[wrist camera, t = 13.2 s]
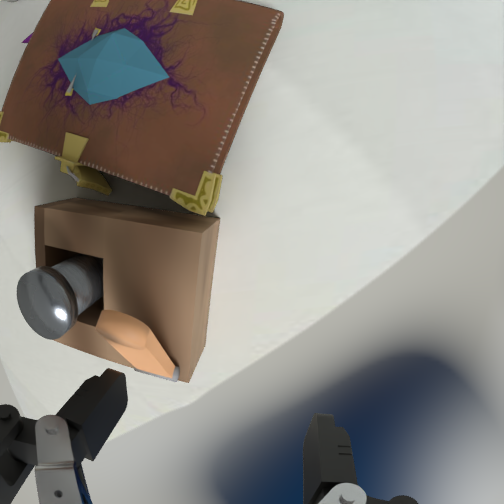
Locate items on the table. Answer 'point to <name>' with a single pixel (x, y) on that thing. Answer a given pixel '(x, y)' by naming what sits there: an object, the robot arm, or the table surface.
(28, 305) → the pin
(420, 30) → the table surface
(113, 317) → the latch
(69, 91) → the book
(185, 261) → the block
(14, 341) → the table surface
